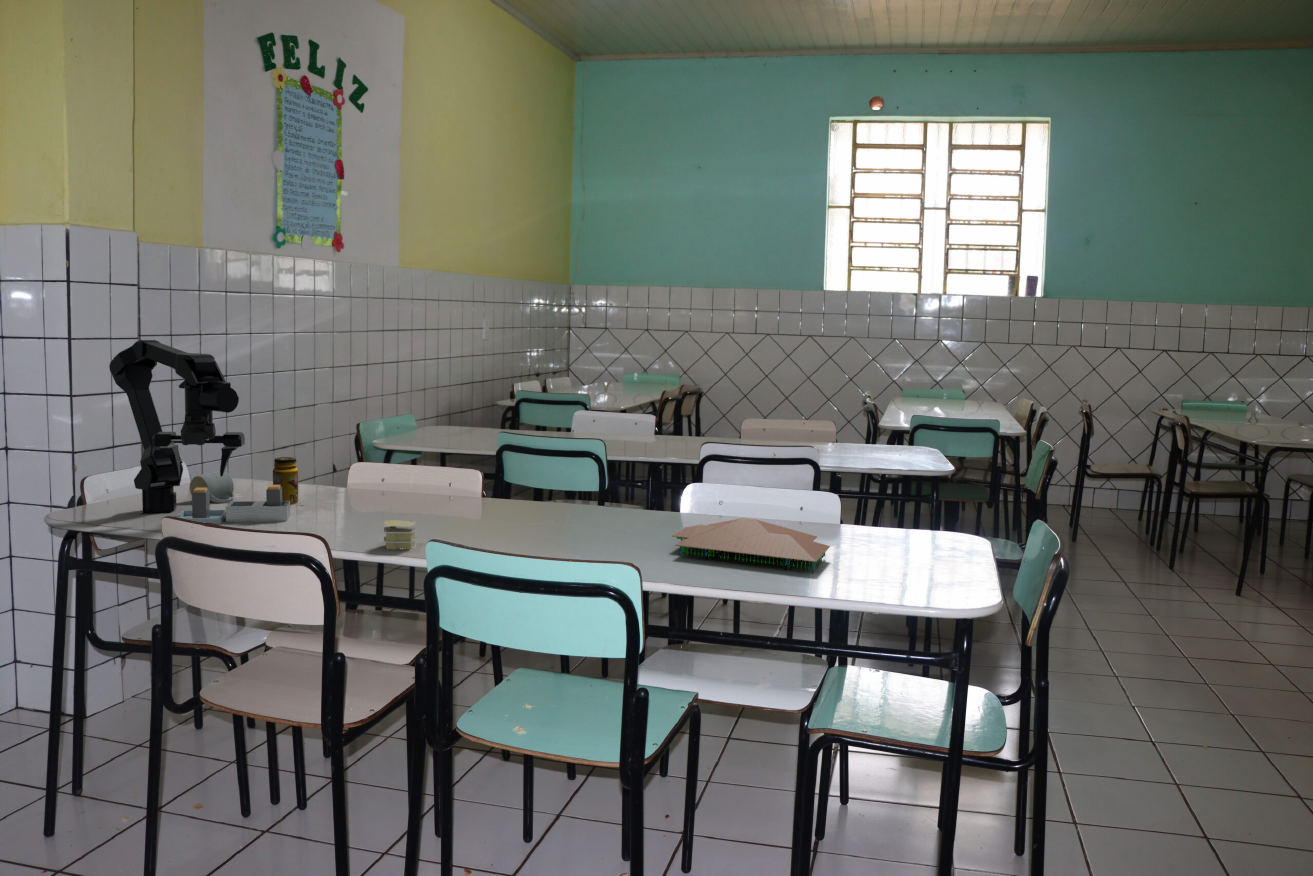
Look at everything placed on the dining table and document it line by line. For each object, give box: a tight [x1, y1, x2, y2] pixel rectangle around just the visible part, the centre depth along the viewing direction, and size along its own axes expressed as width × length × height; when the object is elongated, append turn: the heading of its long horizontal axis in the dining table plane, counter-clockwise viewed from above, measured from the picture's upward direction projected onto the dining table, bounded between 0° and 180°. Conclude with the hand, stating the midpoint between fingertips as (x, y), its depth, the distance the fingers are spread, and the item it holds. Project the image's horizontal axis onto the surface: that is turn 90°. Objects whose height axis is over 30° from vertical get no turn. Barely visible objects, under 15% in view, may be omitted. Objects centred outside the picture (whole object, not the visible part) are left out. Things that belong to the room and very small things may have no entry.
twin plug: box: [265, 484, 282, 506], centre depth 232 cm, size 3×4×7 cm
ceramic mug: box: [189, 469, 235, 504], centre depth 251 cm, size 11×8×8 cm
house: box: [671, 517, 831, 571], centre depth 214 cm, size 23×33×8 cm
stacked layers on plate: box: [383, 519, 418, 550], centre depth 210 cm, size 10×9×6 cm
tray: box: [176, 509, 226, 525], centre depth 228 cm, size 10×10×2 cm
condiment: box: [272, 456, 305, 507], centre depth 250 cm, size 7×8×12 cm
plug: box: [191, 488, 211, 518], centre depth 228 cm, size 3×4×7 cm
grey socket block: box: [225, 500, 291, 523], centre depth 231 cm, size 13×7×4 cm, turn 104°
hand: (200, 476), depth 227 cm, fingers open, 9 cm apart
